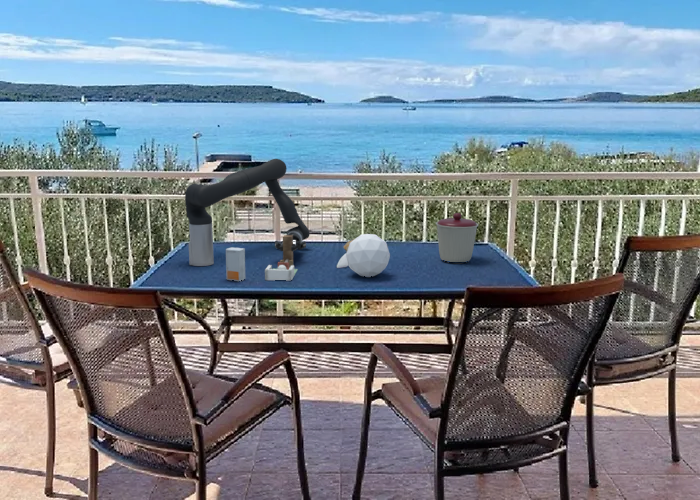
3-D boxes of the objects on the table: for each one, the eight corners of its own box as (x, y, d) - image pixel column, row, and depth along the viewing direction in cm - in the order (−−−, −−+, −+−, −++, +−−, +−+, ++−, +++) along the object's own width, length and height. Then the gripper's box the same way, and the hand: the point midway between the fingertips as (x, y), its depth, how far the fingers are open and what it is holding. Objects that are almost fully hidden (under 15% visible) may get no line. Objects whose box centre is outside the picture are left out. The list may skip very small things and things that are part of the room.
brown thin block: (277, 271, 237) (277, 242, 234) (283, 263, 251) (283, 235, 249) (288, 272, 237) (288, 242, 234) (294, 263, 251) (293, 235, 249)
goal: (265, 280, 225) (264, 269, 224) (268, 275, 233) (268, 265, 232) (291, 280, 225) (291, 270, 224) (294, 275, 232) (294, 265, 232)
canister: (464, 267, 247) (467, 217, 243) (426, 261, 258) (428, 213, 253) (483, 260, 261) (486, 212, 257) (446, 254, 272) (448, 208, 268)
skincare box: (226, 280, 225) (225, 249, 222) (232, 277, 229) (231, 246, 226) (240, 281, 223) (239, 250, 220) (246, 279, 226) (245, 248, 224)
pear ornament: (376, 229, 221) (368, 217, 248) (327, 264, 222) (324, 249, 249) (401, 264, 224) (390, 249, 251) (352, 298, 225) (347, 280, 253)
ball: (277, 263, 234) (278, 271, 236) (276, 266, 231) (276, 275, 232) (287, 263, 234) (287, 272, 235) (285, 266, 231) (286, 275, 232)
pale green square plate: (268, 274, 233) (268, 274, 233) (273, 269, 242) (273, 268, 242) (294, 275, 233) (294, 274, 233) (297, 269, 242) (297, 268, 242)
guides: (280, 267, 245) (279, 260, 244) (280, 266, 246) (280, 259, 245) (292, 268, 244) (292, 260, 244) (293, 267, 246) (293, 260, 245)
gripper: (276, 232, 261) (269, 239, 245) (309, 232, 261) (304, 240, 244) (277, 248, 263) (270, 257, 246) (309, 249, 262) (304, 258, 245)
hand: (287, 248), depth 245 cm, fingers closed on brown thin block, 3 cm apart
